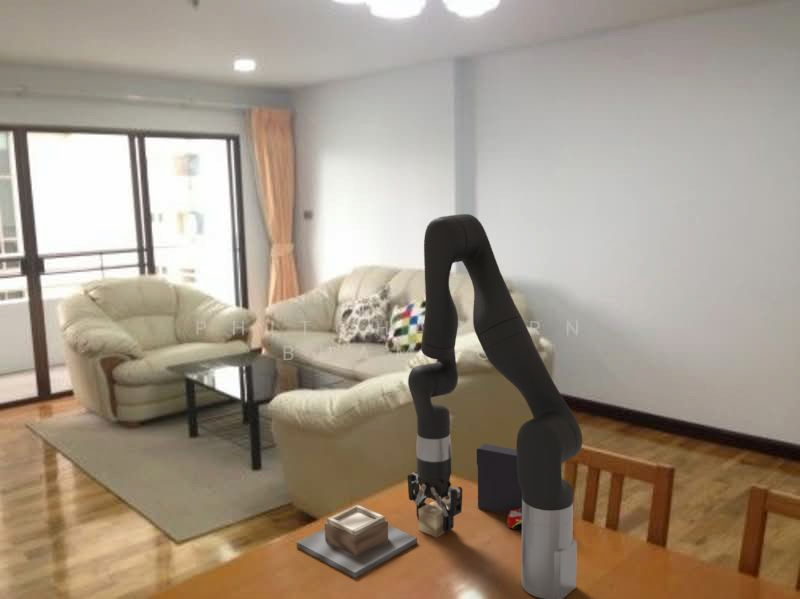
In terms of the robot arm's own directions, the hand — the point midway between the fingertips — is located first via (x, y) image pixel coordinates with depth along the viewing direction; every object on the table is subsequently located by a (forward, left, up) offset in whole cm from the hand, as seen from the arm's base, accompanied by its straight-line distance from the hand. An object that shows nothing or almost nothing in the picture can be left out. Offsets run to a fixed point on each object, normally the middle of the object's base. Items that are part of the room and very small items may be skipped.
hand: (434, 525), depth 153 cm
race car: (-16, -16, -1) cm, 23 cm away
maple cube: (0, 0, -1) cm, 1 cm away
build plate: (+8, +16, -1) cm, 18 cm away
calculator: (-6, -17, -1) cm, 18 cm away
